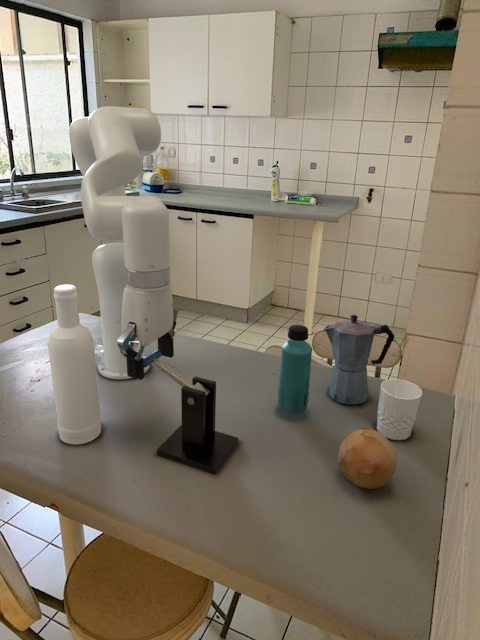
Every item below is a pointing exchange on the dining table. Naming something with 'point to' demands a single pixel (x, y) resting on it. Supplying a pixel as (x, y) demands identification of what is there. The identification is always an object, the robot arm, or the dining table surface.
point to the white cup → (397, 408)
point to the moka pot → (353, 357)
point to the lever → (171, 372)
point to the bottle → (73, 372)
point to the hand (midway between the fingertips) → (151, 366)
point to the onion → (367, 458)
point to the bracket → (198, 431)
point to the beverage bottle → (295, 371)
